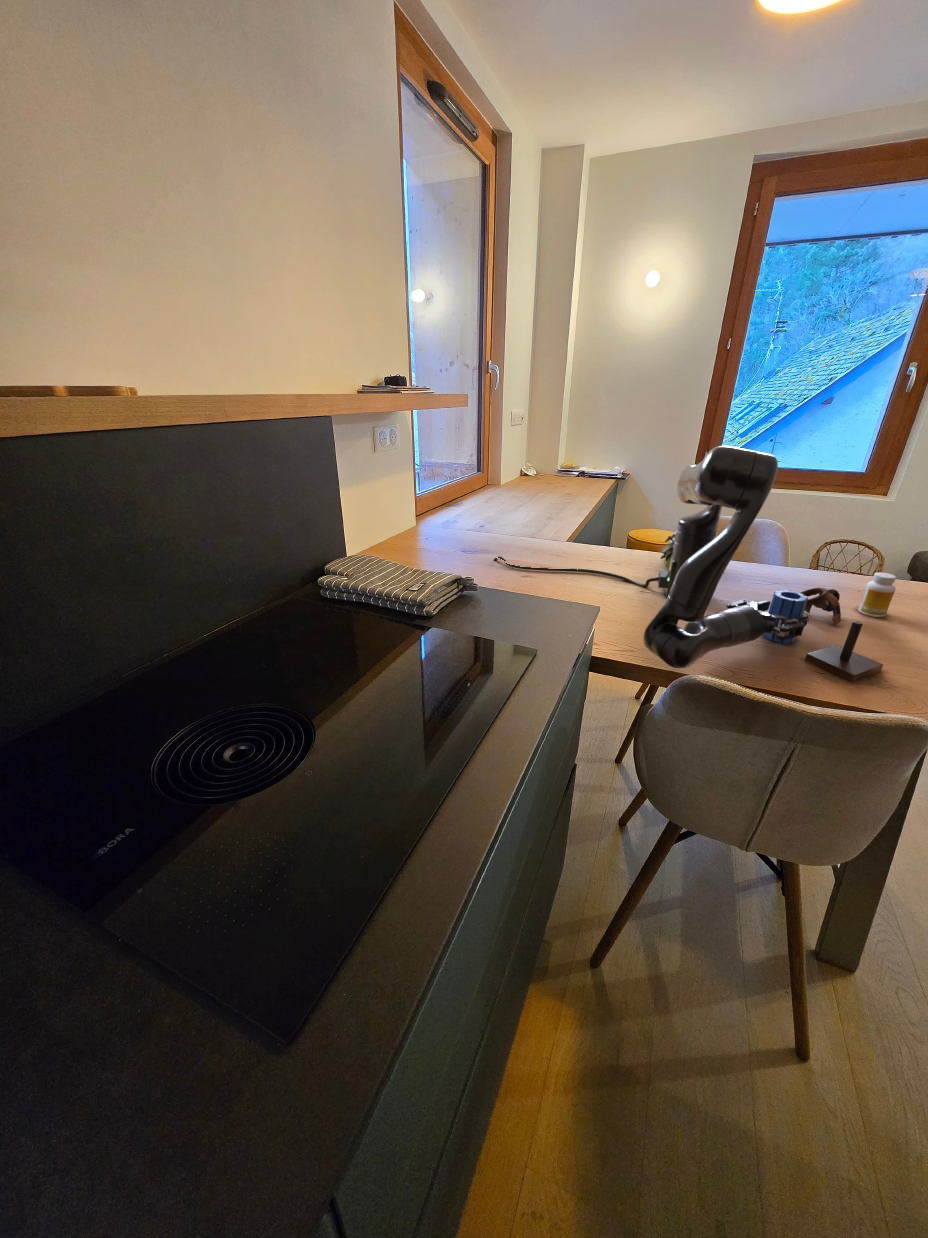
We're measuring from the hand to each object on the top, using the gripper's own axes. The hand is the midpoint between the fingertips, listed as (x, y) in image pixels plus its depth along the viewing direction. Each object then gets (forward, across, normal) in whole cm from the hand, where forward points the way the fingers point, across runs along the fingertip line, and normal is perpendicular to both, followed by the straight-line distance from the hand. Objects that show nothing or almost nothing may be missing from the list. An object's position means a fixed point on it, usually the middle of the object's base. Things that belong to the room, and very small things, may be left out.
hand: (786, 612), depth 106 cm
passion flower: (+16, +46, +6) cm, 49 cm away
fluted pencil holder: (0, 0, +6) cm, 6 cm away
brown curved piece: (+17, +3, +6) cm, 19 cm away
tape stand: (0, -14, +6) cm, 15 cm away
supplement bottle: (+31, -1, +6) cm, 32 cm away
